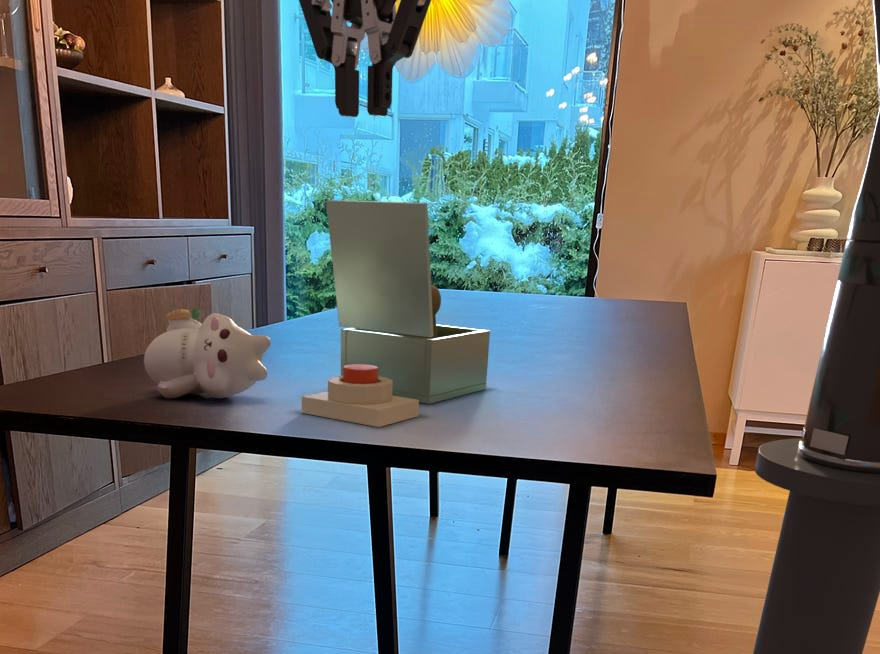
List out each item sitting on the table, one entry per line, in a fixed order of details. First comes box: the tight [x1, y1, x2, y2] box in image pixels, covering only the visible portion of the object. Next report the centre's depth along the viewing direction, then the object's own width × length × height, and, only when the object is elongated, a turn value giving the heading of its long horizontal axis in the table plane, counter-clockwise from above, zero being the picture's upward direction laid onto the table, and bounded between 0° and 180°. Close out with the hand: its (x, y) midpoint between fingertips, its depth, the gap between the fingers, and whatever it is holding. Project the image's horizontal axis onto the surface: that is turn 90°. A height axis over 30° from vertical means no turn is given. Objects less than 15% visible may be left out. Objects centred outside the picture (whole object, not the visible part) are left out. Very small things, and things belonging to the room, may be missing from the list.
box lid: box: [325, 199, 434, 337], centre depth 96 cm, size 13×13×1 cm
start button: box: [343, 364, 378, 384], centre depth 92 cm, size 4×4×2 cm
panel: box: [301, 375, 420, 428], centre depth 93 cm, size 10×7×4 cm
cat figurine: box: [143, 307, 272, 399], centre depth 98 cm, size 10×8×15 cm
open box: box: [340, 324, 491, 405], centre depth 106 cm, size 13×13×7 cm
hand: (363, 114), depth 82 cm, fingers closed
